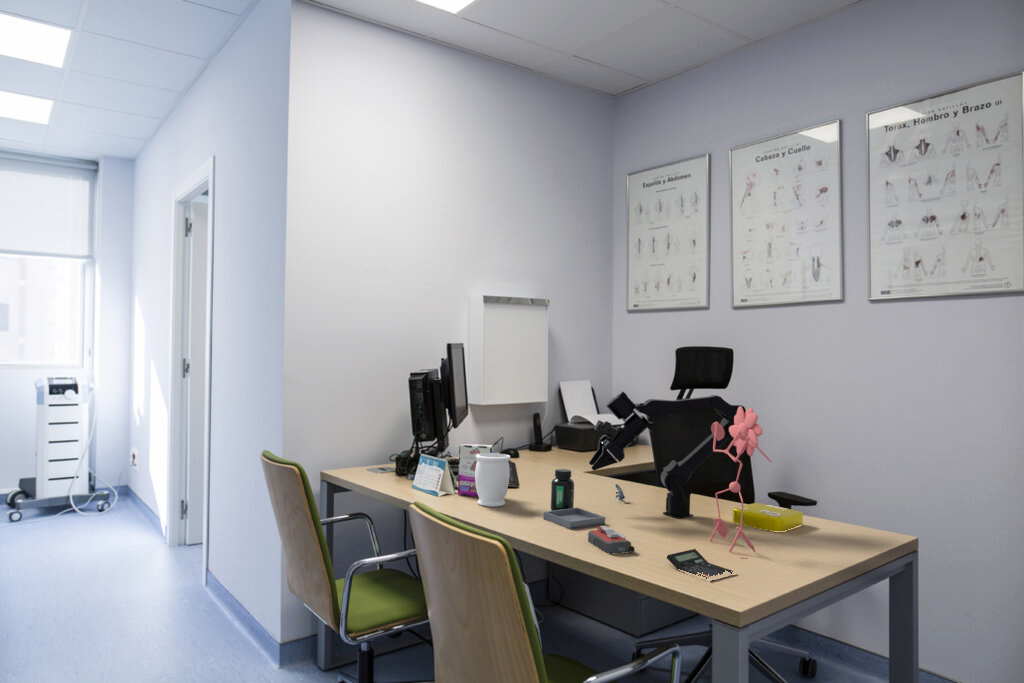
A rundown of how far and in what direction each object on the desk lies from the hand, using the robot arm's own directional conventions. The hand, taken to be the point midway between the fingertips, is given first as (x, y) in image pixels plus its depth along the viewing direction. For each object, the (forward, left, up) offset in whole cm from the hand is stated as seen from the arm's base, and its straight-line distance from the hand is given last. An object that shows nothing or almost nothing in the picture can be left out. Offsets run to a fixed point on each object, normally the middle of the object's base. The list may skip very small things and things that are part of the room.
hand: (591, 466), depth 196 cm
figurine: (-45, -12, -14) cm, 49 cm away
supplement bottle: (+5, +7, -14) cm, 16 cm away
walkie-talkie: (-27, +17, -14) cm, 35 cm away
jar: (+21, +22, -14) cm, 33 cm away
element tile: (-34, -38, -14) cm, 53 cm away
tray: (-7, +12, -13) cm, 19 cm away
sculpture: (+7, -18, -14) cm, 24 cm away
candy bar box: (+34, +20, -14) cm, 41 cm away
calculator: (-53, +13, -14) cm, 56 cm away
